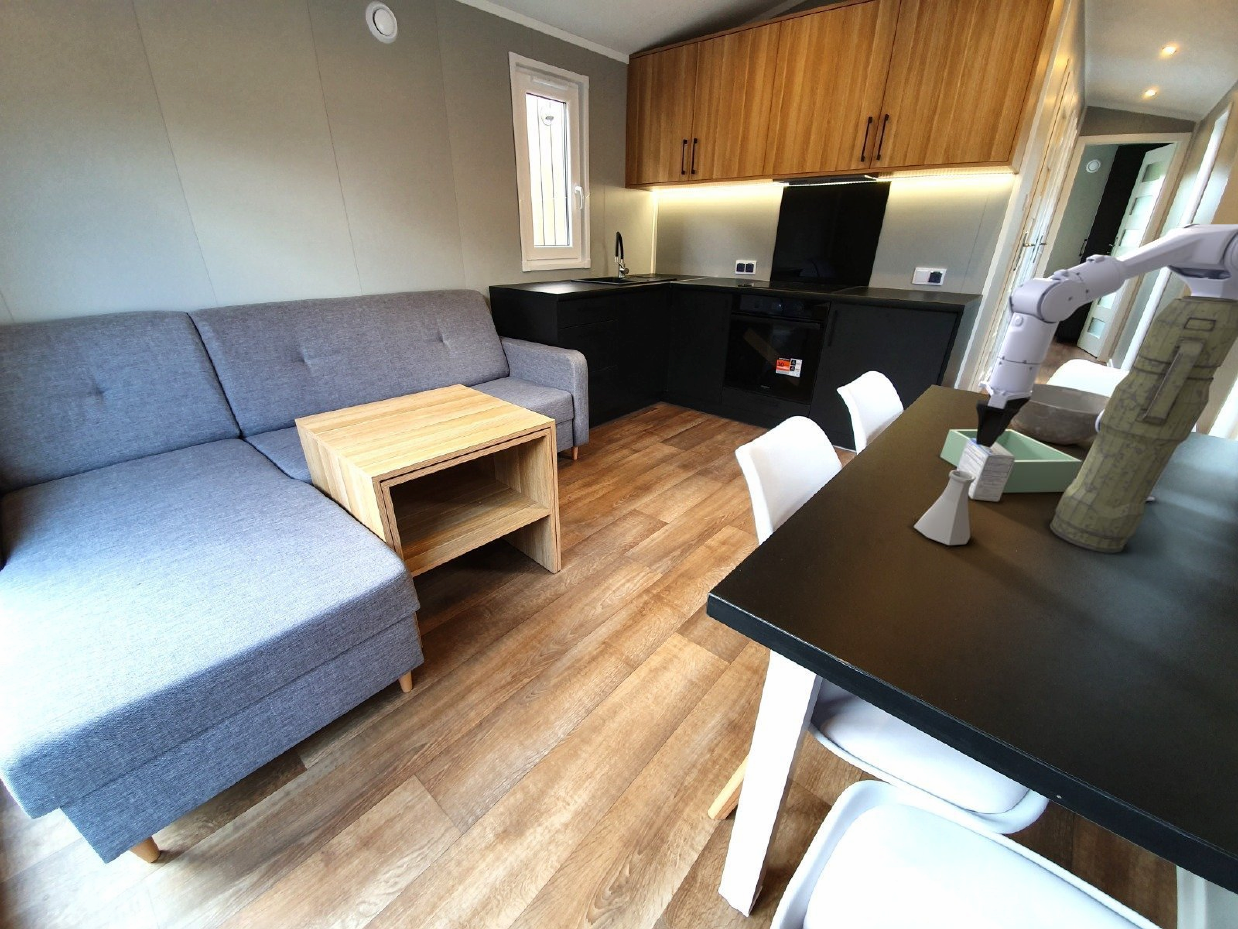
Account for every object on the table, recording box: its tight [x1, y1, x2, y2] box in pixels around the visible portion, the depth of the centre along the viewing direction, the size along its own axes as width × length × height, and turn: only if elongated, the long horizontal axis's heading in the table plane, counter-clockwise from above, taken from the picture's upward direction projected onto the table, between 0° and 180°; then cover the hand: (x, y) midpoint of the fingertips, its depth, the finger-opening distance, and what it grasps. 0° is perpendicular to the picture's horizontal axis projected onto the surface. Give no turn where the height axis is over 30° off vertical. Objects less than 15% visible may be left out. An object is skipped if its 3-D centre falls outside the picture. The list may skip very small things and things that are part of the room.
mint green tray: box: [940, 428, 1083, 494], centre depth 94 cm, size 14×16×6 cm
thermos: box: [1049, 295, 1238, 554], centre depth 68 cm, size 9×12×35 cm
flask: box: [913, 469, 976, 546], centre depth 73 cm, size 7×7×10 cm
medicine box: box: [956, 438, 1016, 503], centre depth 86 cm, size 8×4×9 cm, turn 168°
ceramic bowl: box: [1010, 383, 1111, 445], centre depth 112 cm, size 22×23×10 cm
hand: (988, 439), depth 83 cm, fingers open, 7 cm apart
